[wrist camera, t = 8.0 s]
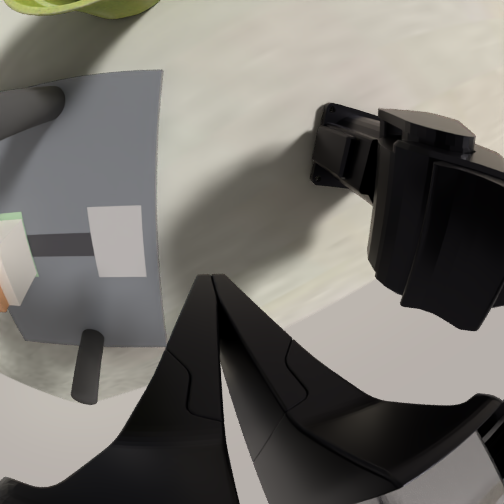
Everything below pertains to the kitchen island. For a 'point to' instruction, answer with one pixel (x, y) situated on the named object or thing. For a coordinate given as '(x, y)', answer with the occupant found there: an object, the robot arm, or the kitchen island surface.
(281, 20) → the kitchen island surface
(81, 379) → the cord post
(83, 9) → the plant pot
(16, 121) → the cord post
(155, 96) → the panel
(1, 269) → the orange striped block
